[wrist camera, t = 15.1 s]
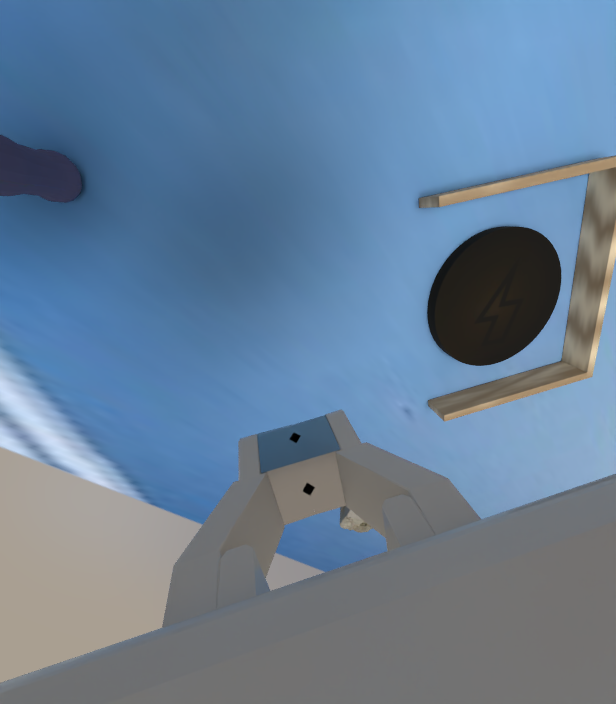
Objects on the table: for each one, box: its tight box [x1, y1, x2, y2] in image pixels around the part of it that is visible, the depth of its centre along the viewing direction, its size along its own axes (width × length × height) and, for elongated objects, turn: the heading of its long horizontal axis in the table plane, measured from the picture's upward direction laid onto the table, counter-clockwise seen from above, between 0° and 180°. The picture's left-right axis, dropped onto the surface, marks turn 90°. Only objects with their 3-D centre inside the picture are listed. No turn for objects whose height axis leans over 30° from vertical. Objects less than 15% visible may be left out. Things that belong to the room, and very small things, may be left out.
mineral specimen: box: [340, 506, 372, 532], centre depth 47 cm, size 7×9×8 cm
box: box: [419, 156, 616, 421], centre depth 41 cm, size 28×23×4 cm
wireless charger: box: [427, 226, 561, 366], centre depth 42 cm, size 18×18×2 cm
